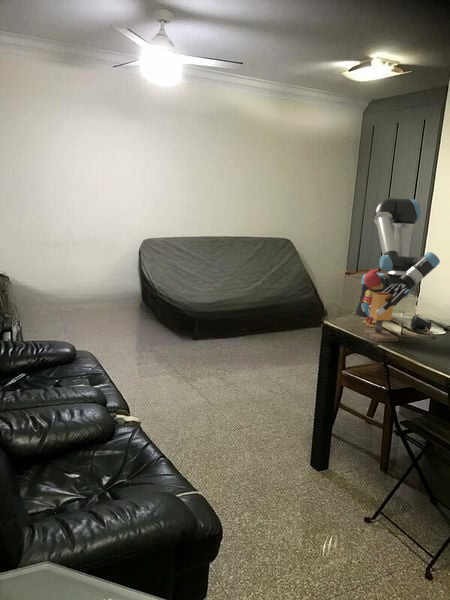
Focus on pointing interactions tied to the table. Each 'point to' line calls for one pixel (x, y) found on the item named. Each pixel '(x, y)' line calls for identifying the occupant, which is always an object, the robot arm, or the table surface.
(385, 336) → the post
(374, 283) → the toy
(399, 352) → the table surface
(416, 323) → the pink handled mallet
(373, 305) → the frame
